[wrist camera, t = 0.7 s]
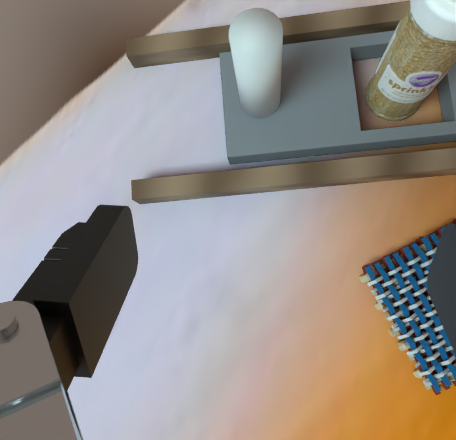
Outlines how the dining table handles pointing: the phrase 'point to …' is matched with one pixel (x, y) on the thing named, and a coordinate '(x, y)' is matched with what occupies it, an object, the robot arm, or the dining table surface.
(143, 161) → the dining table surface
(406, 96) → the sprinkles bottle
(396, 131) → the grey tray with post
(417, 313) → the woven mat
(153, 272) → the dining table surface
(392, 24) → the guide rails
